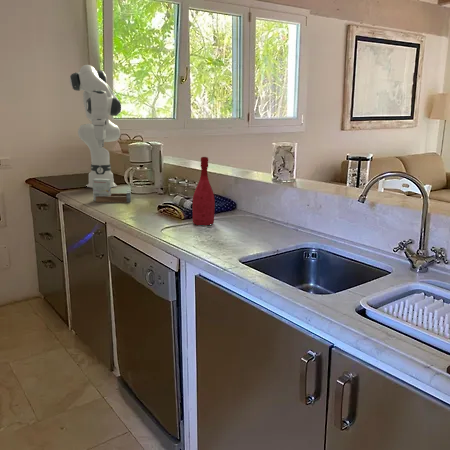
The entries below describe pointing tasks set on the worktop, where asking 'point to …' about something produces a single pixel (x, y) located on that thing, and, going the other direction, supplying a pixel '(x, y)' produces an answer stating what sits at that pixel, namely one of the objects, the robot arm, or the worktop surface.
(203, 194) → the wine bottle
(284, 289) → the worktop surface
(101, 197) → the guide channel
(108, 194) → the ink box
